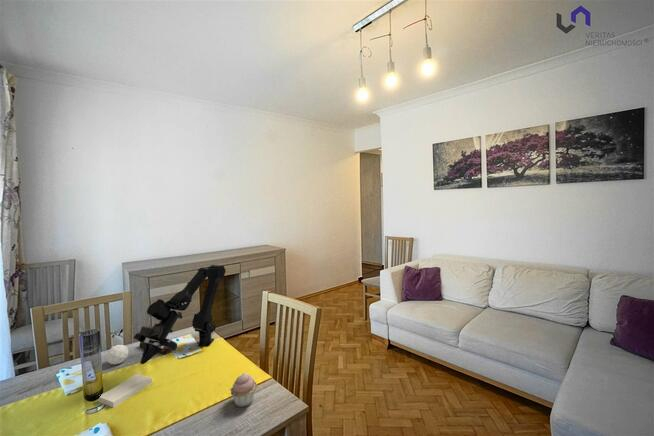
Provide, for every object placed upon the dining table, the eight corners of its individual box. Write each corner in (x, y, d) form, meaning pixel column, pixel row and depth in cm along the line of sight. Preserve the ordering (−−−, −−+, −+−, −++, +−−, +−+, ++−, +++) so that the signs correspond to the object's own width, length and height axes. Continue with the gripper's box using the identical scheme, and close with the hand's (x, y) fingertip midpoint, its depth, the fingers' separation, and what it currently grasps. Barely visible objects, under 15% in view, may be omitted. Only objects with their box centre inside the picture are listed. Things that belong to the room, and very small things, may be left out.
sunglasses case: (180, 346, 135) (174, 337, 132) (169, 359, 130) (162, 351, 126) (155, 339, 142) (148, 331, 139) (144, 351, 137) (136, 343, 133)
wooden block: (137, 373, 110) (98, 396, 97) (151, 378, 108) (113, 402, 94) (137, 379, 110) (98, 402, 97) (152, 383, 108) (113, 408, 95)
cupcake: (258, 390, 103) (258, 364, 103) (256, 408, 94) (256, 380, 94) (232, 393, 102) (232, 367, 101) (227, 412, 93) (227, 383, 92)
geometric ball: (112, 370, 120) (101, 355, 120) (131, 355, 126) (120, 342, 126) (114, 368, 115) (102, 353, 115) (134, 353, 121) (123, 339, 121)
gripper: (136, 313, 115) (109, 352, 105) (169, 320, 108) (144, 362, 99) (155, 324, 123) (131, 361, 113) (187, 330, 116) (164, 371, 107)
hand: (141, 364), depth 108 cm, fingers closed
